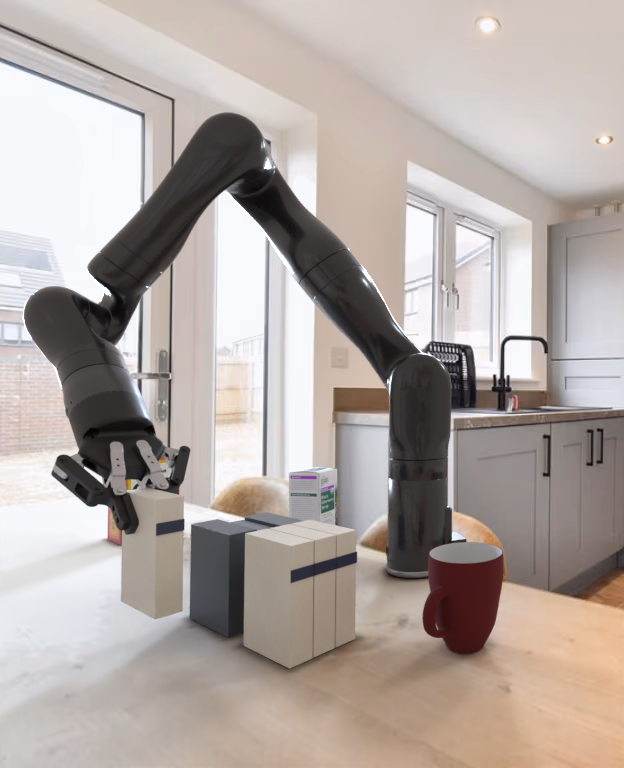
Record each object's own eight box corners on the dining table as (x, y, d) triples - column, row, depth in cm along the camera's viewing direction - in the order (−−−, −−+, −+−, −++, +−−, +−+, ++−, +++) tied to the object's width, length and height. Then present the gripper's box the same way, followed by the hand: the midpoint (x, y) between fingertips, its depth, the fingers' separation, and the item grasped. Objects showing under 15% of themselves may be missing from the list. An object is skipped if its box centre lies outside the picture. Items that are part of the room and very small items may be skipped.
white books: (309, 620, 64) (310, 519, 65) (356, 639, 59) (357, 529, 60) (243, 645, 58) (244, 533, 58) (289, 669, 53) (291, 546, 53)
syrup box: (319, 562, 87) (320, 471, 87) (287, 559, 88) (288, 470, 88) (338, 552, 92) (339, 467, 93) (307, 549, 94) (308, 466, 94)
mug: (470, 683, 50) (470, 575, 51) (398, 665, 54) (399, 564, 54) (514, 637, 60) (515, 546, 60) (451, 624, 63) (452, 538, 64)
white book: (147, 593, 61) (149, 487, 61) (183, 611, 56) (184, 495, 56) (120, 601, 59) (122, 491, 59) (155, 620, 54) (156, 499, 54)
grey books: (266, 593, 73) (267, 509, 73) (306, 609, 68) (307, 518, 68) (189, 618, 65) (190, 523, 65) (228, 637, 60) (229, 535, 60)
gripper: (40, 388, 58) (79, 517, 51) (180, 389, 69) (228, 494, 62) (24, 435, 61) (59, 563, 54) (161, 428, 72) (205, 533, 65)
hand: (150, 525), depth 58 cm, fingers closed on white book, 2 cm apart
